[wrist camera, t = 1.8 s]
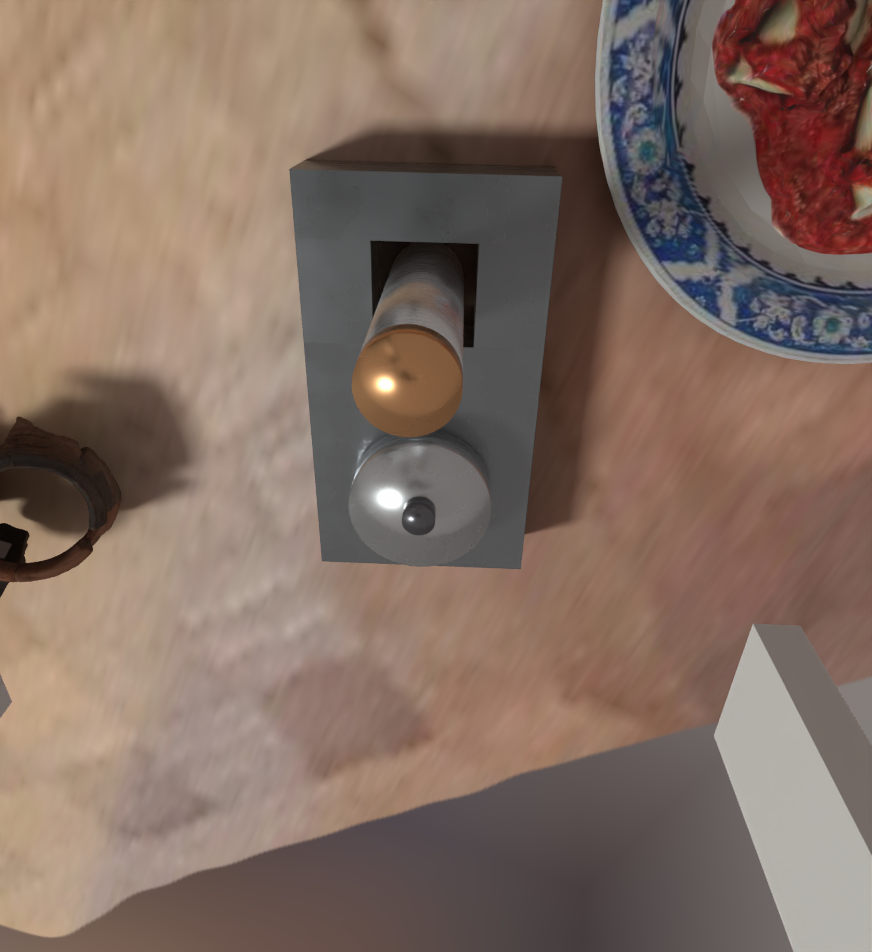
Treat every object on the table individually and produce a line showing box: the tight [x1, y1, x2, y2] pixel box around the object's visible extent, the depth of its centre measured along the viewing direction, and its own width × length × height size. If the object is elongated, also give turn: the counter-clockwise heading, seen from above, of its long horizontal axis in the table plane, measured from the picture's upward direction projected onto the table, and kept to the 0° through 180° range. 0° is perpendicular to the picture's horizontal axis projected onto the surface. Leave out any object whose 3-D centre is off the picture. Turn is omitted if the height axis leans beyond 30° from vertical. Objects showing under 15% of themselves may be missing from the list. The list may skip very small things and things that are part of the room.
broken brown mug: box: [0, 417, 121, 597], centre depth 38 cm, size 12×10×8 cm
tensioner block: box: [289, 160, 562, 569], centre depth 33 cm, size 20×11×6 cm, turn 179°
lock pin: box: [352, 242, 464, 437], centre depth 27 cm, size 4×4×13 cm
